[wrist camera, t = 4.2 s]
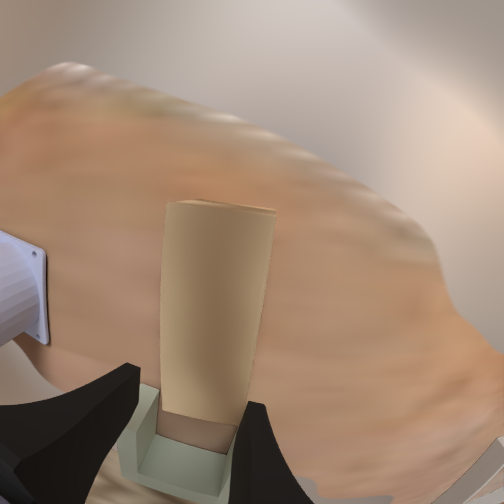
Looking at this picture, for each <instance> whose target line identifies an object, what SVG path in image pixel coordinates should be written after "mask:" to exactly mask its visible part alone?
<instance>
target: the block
mask: <svg viewBox="0 0 504 504" xmlns="http://www.w3.org/2000/svg"><path fill="white" fill-rule="evenodd" d="M159 391H160V390H159V389H156V388H153V387H150V386H148V385H145V384H143V383H141V384H140V389H139V403H138V405H137V407H136V409H135V411H134V413H133V416H132V418H131V420H130V421H129V423H128V424H127V426H126V427H125V429H124V430H123V432H122V434H121V435H120V437H119V438H118V440H117V448H118V456H119V463H120V469H121V476H122V477H124V478H126V479H129V480H131V481H134V482H136V483H139V484H141V485H144V486H146V487H149V488H152V489H155V490H158V491H160V492H163V493H167V494H170V495H173V496H176V497H179V498H183V499H186V500H190V501H194V502H198V503H202V504H228V500H229V490H230V477H231V464H232V453H233V448H234V443H235V438H236V433H237V431H236V433H235V436H234V438H233V441H232V443H231V446H230V448H229V451H228V453H227V455H224V454H220V453H216V452H212V451H208V450H204V449H201V448H197V447H194V446H190V445H187V444H184V443H180V442H177V441H174V440H171V439H168V438H165V437H162V436H160V435H157V434H156V423H157V411H158V401H159ZM238 428H239V426H238ZM238 428H237V430H238Z"/></svg>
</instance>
